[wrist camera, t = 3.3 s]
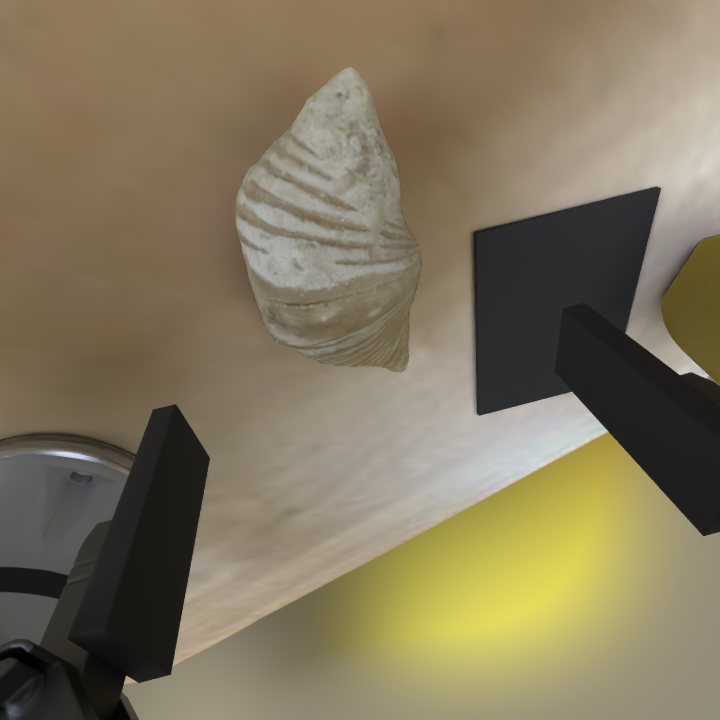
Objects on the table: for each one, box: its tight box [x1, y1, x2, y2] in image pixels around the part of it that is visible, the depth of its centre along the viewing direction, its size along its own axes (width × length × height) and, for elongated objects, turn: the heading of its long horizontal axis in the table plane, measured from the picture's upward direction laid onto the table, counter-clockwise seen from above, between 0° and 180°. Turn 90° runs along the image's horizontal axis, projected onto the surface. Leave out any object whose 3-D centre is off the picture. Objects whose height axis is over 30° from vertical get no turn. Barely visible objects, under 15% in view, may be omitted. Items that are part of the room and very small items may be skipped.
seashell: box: [236, 67, 422, 372], centre depth 22 cm, size 14×9×10 cm
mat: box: [474, 187, 661, 416], centre depth 30 cm, size 12×16×1 cm
